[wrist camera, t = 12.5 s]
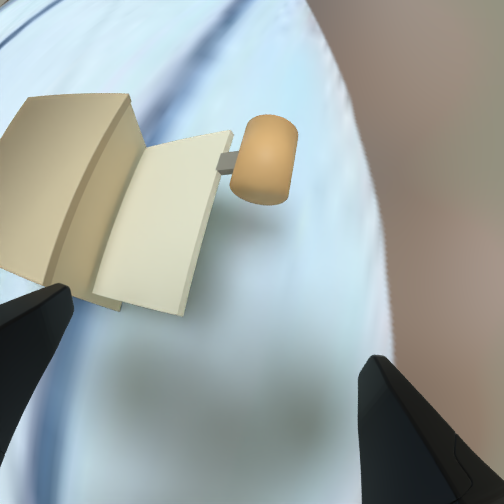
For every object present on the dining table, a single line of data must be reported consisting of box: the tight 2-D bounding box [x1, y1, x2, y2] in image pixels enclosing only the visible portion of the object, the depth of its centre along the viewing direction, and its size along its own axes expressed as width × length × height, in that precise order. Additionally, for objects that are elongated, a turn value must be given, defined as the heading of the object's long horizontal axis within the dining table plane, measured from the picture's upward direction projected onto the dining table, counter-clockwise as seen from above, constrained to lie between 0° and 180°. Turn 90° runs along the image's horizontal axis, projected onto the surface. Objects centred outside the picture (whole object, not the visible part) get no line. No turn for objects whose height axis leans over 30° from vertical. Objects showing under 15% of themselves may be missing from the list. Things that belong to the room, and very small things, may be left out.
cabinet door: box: [92, 115, 298, 317], centre depth 13 cm, size 2×9×9 cm
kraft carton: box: [0, 93, 146, 312], centre depth 16 cm, size 8×10×10 cm
